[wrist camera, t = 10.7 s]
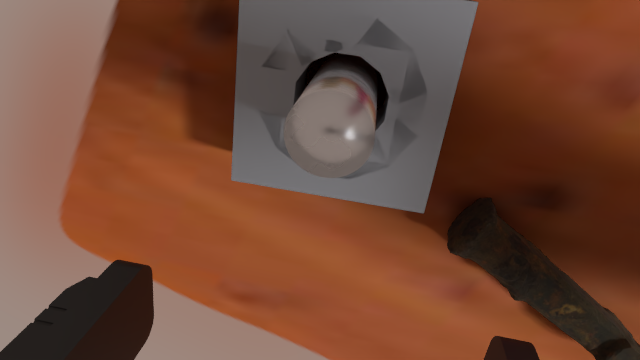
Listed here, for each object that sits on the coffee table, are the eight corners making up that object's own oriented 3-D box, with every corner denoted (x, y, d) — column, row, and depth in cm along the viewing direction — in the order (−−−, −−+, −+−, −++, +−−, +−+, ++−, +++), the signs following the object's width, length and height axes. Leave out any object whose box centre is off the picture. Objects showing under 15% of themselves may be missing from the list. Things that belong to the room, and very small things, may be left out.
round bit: (383, 58, 28) (382, 98, 19) (372, 120, 29) (366, 184, 20) (319, 48, 28) (288, 84, 19) (311, 110, 30) (280, 169, 21)
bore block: (465, -2, 26) (478, 2, 22) (419, 185, 31) (424, 213, 27) (260, -31, 26) (240, -32, 23) (248, 156, 32) (231, 180, 28)
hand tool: (439, 223, 32) (446, 261, 28) (483, 187, 30) (499, 222, 26) (606, 371, 36) (635, 424, 31) (654, 345, 34) (691, 398, 30)
